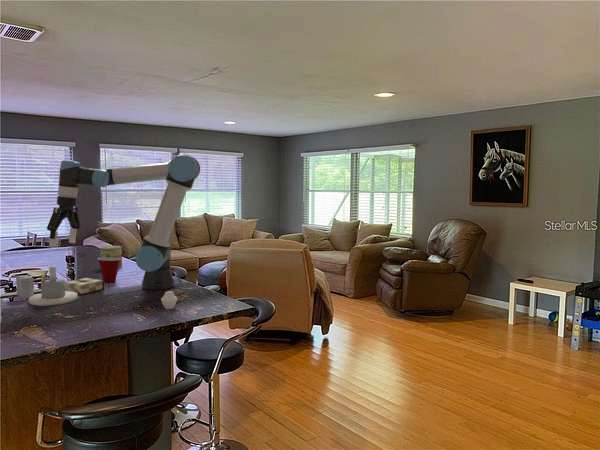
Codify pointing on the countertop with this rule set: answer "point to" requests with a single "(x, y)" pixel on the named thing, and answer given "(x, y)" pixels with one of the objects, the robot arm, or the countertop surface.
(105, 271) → the plastic cup
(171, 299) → the muffin
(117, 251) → the canned food
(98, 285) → the slotted arch block
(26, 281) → the medicine box
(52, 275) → the post stand
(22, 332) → the countertop surface
